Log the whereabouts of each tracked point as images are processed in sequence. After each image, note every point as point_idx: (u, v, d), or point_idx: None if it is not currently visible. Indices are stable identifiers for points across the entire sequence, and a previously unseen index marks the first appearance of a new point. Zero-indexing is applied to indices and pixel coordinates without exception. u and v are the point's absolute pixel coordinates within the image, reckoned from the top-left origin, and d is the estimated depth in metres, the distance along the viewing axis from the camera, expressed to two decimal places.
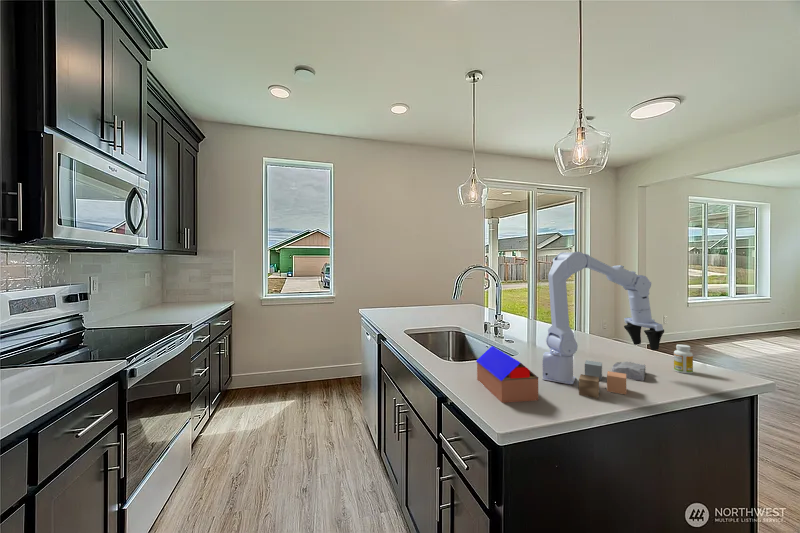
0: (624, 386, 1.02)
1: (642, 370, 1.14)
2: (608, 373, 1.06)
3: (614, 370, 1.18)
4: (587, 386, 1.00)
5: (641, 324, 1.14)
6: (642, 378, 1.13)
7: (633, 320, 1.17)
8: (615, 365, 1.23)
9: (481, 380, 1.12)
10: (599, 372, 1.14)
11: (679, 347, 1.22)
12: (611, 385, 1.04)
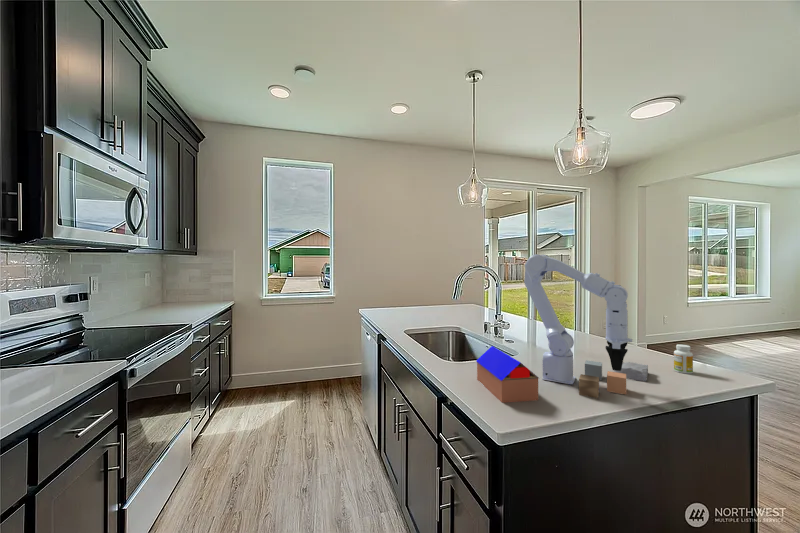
0: (624, 386, 1.02)
1: (645, 370, 1.13)
2: (608, 373, 1.06)
3: None
4: (587, 386, 1.00)
5: (607, 339, 1.04)
6: (645, 378, 1.12)
7: None
8: None
9: (481, 380, 1.12)
10: (599, 372, 1.14)
11: (679, 347, 1.22)
12: (611, 385, 1.04)
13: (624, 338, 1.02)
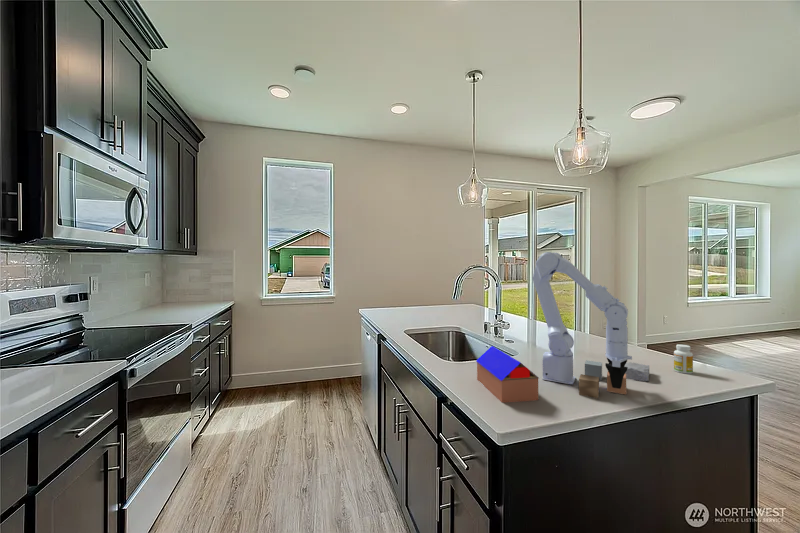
0: (624, 386, 1.02)
1: (646, 371, 1.13)
2: (608, 373, 1.06)
3: None
4: (587, 386, 1.00)
5: (607, 356, 1.04)
6: (646, 379, 1.12)
7: None
8: None
9: (481, 380, 1.12)
10: (599, 372, 1.14)
11: (679, 347, 1.22)
12: (611, 385, 1.04)
13: (624, 356, 1.02)
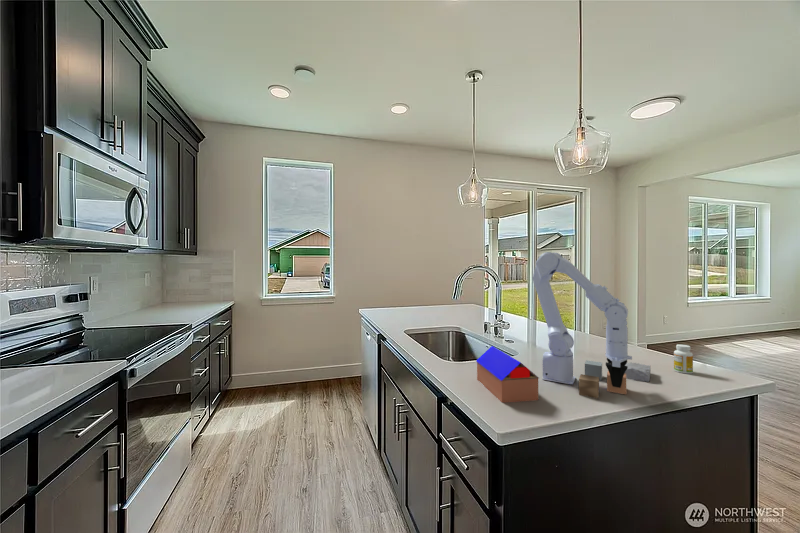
0: (624, 386, 1.02)
1: (648, 371, 1.13)
2: (608, 373, 1.06)
3: None
4: (587, 386, 1.00)
5: (607, 356, 1.04)
6: (648, 379, 1.12)
7: None
8: None
9: (481, 380, 1.12)
10: (599, 372, 1.14)
11: (679, 347, 1.22)
12: (611, 385, 1.04)
13: (624, 356, 1.02)
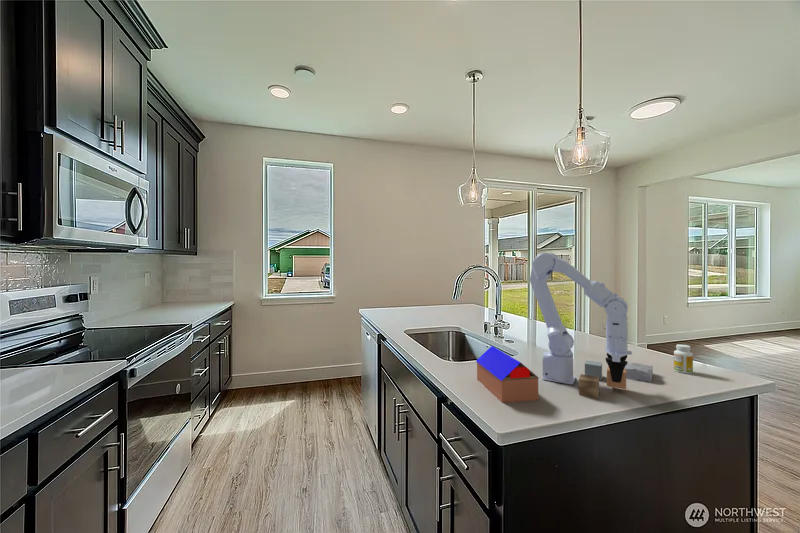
0: (624, 381, 1.02)
1: (650, 371, 1.12)
2: (608, 368, 1.06)
3: None
4: (587, 386, 1.00)
5: (607, 351, 1.04)
6: (650, 379, 1.12)
7: None
8: None
9: (481, 380, 1.12)
10: (599, 372, 1.14)
11: (679, 347, 1.22)
12: (611, 380, 1.04)
13: (624, 351, 1.02)
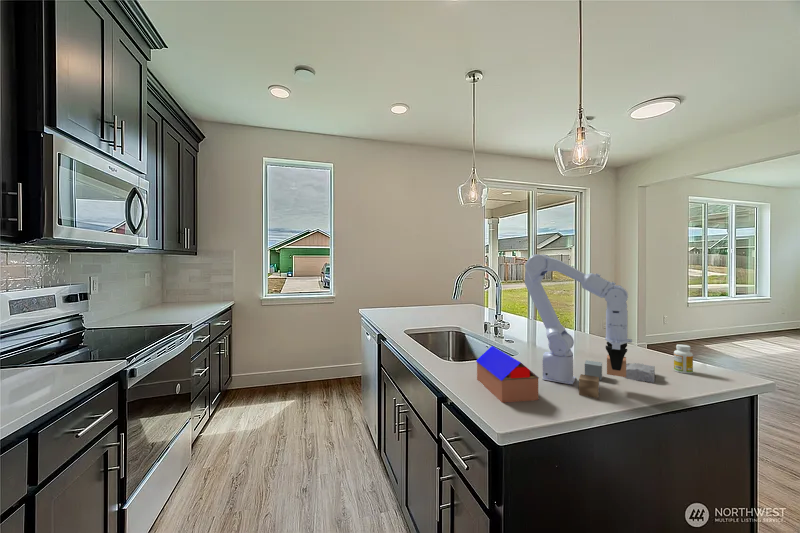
0: (624, 369, 1.02)
1: (652, 372, 1.12)
2: (608, 356, 1.06)
3: None
4: (587, 386, 1.00)
5: (607, 339, 1.04)
6: (652, 380, 1.11)
7: None
8: None
9: (481, 380, 1.12)
10: (599, 372, 1.14)
11: (679, 347, 1.22)
12: (611, 368, 1.04)
13: (624, 339, 1.02)
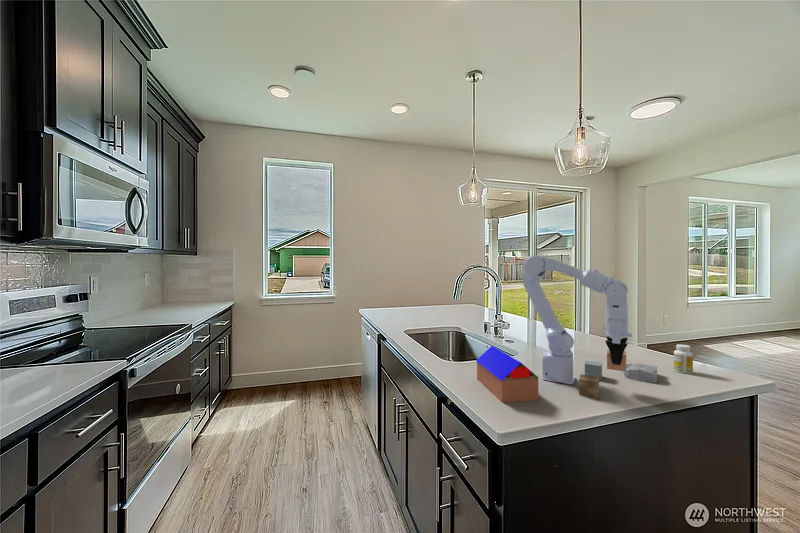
0: (624, 363, 1.02)
1: (655, 372, 1.12)
2: (608, 351, 1.06)
3: (626, 372, 1.16)
4: (587, 386, 1.00)
5: (607, 334, 1.04)
6: (655, 380, 1.11)
7: None
8: (626, 367, 1.21)
9: (481, 380, 1.12)
10: (599, 372, 1.14)
11: (679, 347, 1.22)
12: (611, 363, 1.04)
13: (624, 333, 1.02)
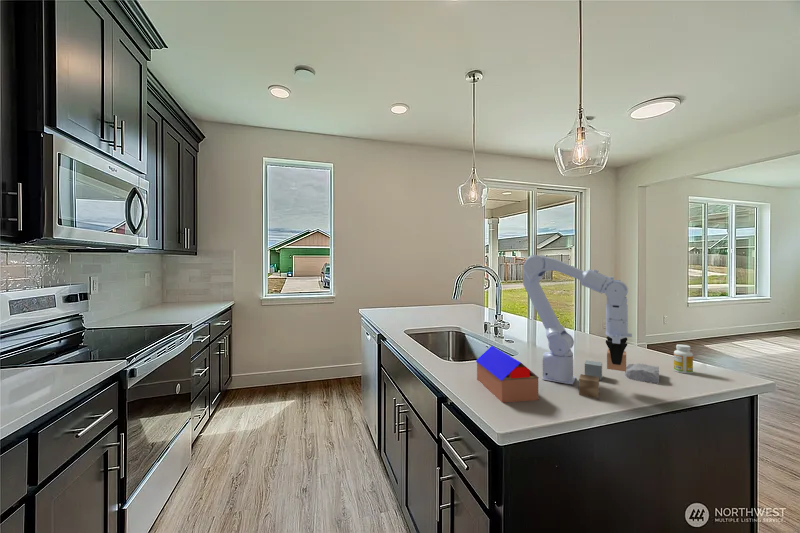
0: (624, 363, 1.02)
1: (657, 372, 1.11)
2: (608, 351, 1.06)
3: (628, 372, 1.16)
4: (587, 386, 1.00)
5: (607, 334, 1.04)
6: (657, 380, 1.10)
7: None
8: (628, 367, 1.21)
9: (481, 380, 1.12)
10: (599, 372, 1.14)
11: (679, 347, 1.22)
12: (611, 363, 1.04)
13: (624, 333, 1.02)
